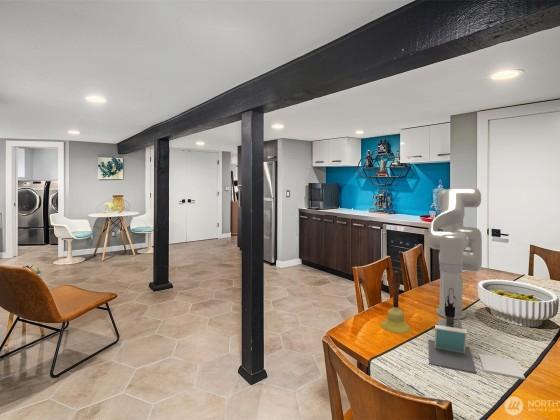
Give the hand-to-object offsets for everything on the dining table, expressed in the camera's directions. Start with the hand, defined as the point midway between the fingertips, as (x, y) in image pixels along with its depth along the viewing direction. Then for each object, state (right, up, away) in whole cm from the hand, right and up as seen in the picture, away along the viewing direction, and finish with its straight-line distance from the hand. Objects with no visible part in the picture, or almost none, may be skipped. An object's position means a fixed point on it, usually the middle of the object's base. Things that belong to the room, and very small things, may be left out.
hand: (449, 314), depth 119 cm
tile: (-2, -8, -4) cm, 9 cm away
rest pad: (+11, -14, -12) cm, 21 cm away
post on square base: (0, -4, 0) cm, 4 cm away
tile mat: (-3, -13, -5) cm, 15 cm away
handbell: (-14, -12, +19) cm, 26 cm away
